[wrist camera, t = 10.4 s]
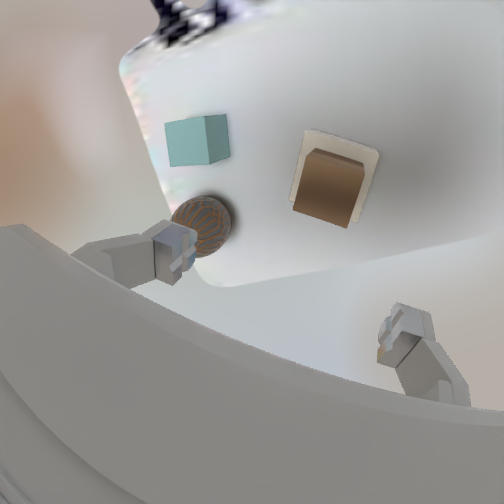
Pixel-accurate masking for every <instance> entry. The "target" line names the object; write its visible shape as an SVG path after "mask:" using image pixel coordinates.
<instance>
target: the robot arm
mask: <svg viewBox="0 0 504 504" xmlns="http://www.w3.org/2000/svg"><path fill="white" fill-rule="evenodd" d="M196 241H197V232H196V230H193V229H190V228H188V227H185V226H182V225H180V224H177V223H174V222H172V221H169V220H162V221H160V222H159V223H157V224H156V225H154V226H153V227H151V228H150V229H148V230H147V231H145V232H144V233H142V234H141V235H140V234H133V235H127V236H122V237H116V238H111V239H105V240H100V241H95V242H90V243H87V244H85V245H84V246H83V247H81V248H79V249H78V250H77V251H75V252H73V253H72V254H68V253H67V252H65V251H64V250H62V249H60V248H59V247H57V246H56V245H54V244H53V243H51V242H50V241H48V240H47V239H45V238H44V237H42V236H41V235H39V234H38V233H36V232H35V231H34V230H32V229H31V228H30V227H28V226H27V225H24V224H14V225H7V226H2V227H0V504H504V411H496V410H487V409H479V408H472V407H471V402H470V394H469V387H468V384H467V382H466V381H465V379H464V378H463V377H462V375H461V373H460V372H459V371H458V369H457V368H456V366H455V365H454V363H453V362H452V360H451V359H450V358H449V356H448V355H447V353H446V352H445V350H444V349H443V348H442V346H441V345H440V344H439V343H438V342H436V339H435V333H434V328H433V324H432V318H431V314H430V313H429V312H426V311H423V310H420V309H416V308H413V307H410V306H407V305H404V304H401V303H398V302H396V304H394V306H393V307H392V309H391V316H389V317H387V318H386V319H385V320H384V322H383V323H382V326H381V328H380V330H379V335H378V341H379V343H380V345H381V346H380V347H379V349H378V355H377V363H380V364H383V365H386V366H389V367H392V368H395V370H396V372H397V375H398V377H399V380H400V382H401V384H402V387H403V389H404V391H405V394H406V395H404V394H399V393H395V392H391V391H387V390H383V389H379V388H376V387H372V386H368V385H365V384H361V383H358V382H354V381H351V380H348V379H344V378H341V377H338V376H334V375H331V374H328V373H325V372H322V371H319V370H316V369H313V368H310V367H307V366H304V365H301V364H298V363H296V362H293V361H290V360H287V359H285V358H282V357H279V356H276V355H274V354H271V353H268V352H266V351H263V350H261V349H258V348H255V347H253V346H250V345H248V344H245V343H243V342H241V341H238V340H236V339H233V338H231V337H228V336H226V335H224V334H221V333H219V332H217V331H214V330H212V329H210V328H208V327H206V326H203V325H201V324H199V323H197V322H194V321H192V320H190V319H188V318H186V317H184V316H182V315H179V314H177V313H175V312H173V311H171V310H169V309H167V308H165V307H163V306H161V305H159V304H157V303H155V302H153V301H151V300H149V299H147V298H145V297H143V296H142V295H140V294H138V293H136V292H134V291H132V290H130V289H131V288H133V287H136V286H139V285H142V284H144V283H147V282H149V281H152V280H155V278H156V279H158V280H160V281H163V282H165V283H167V284H170V285H172V286H173V285H174V284H175V283H176V282H177V281H178V280H179V279H180V278H181V277H182V272H185V271H188V269H190V268H191V267H192V265H193V263H194V261H195V258H196V248H195V246H194V243H195V242H196Z"/></svg>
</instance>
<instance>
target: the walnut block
mask: <svg viewBox="0 0 504 504" xmlns="http://www.w3.org/2000/svg"><path fill="white" fill-rule="evenodd" d="M364 176H365V172H364V165H363V163H361V162H359V161H356V160H353V159H350V158H347V157H344V156H341V155H338V154H335V153H331V152H328V151H325V150H322V149H318V148H315V149H313V150H312V151H311V152H310V153H309V154H308V155H306V158H305V162H304V166H303V170H302V174H301V178H300V183H299V186H298V190H297V194H296V198H295V202H294V206H293V210H294V211H297V212H300V213H303V214H306V215H309V216H312V217H315V218H318V219H321V220H324V221H327V222H330V223H333V224H335V225H338V226H341V227H344V228H347V226H348V224H349V221H350V218H351V215H352V212H353V209H354V207H355V204H356V201H357V198H358V195H359V192H360V189H361V186H362V182H363V179H364Z"/></svg>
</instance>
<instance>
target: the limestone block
mask: <svg viewBox="0 0 504 504" xmlns="http://www.w3.org/2000/svg"><path fill="white" fill-rule="evenodd" d="M315 148H318V149H322V150H325V151H328V152H331V153H335V154H338V155H341V156H344V157H347V158H350V159H353V160H356V161H359V162H361V163H363V165H364V172H365V176H364V179H363V182H362V186H361V189H360V192H359V195H358V198H357V201H356V204H355V207H354V209H353V212H352V215H351V218H350V221H352V222H355V223H357V222H358V219H359V216H360V213H361V211H362V208H363V205H364V202H365V199H366V196H367V193H368V190H369V187H370V184H371V181H372V178H373V175H374V172H375V169H376V165H377V162H378V159H379V156H380V155H379V153H378V151H377V149H374V148H371V147H368V146H366V145H363V144H360V143H357V142H354V141H351V140H348V139H345V138H341V137H338V136H335V135H332V134H328V133H325V132H321V131H318V130H314V129H309V130H307V131H305V132H304V137H303V141H302V146H301V150H300V154H299V159H298V163H297V167H296V171H295V176H294V180H293V184H292V188H291V192H290V196H289V201H292V202H295V198H296V194H297V190H298V186H299V183H300V178H301V174H302V170H303V166H304V162H305V158H306V155H308V154H309V153H310V152H311V151H312V150H313V149H315Z"/></svg>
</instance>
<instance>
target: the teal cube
mask: <svg viewBox="0 0 504 504" xmlns="http://www.w3.org/2000/svg"><path fill="white" fill-rule="evenodd" d="M164 124H165V132H166V140H167V147H168V154H169V161H170V167H176V166H190V165H208V164H212V163H214V162H217V161H219V160H221V159H224V158H226V157H229V156H230V149H229V139H228V129H227V119H226V114H224V115H213V116H203V117H197V118H190V119H184V120H179V121H173V122H168V123H164Z"/></svg>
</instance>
